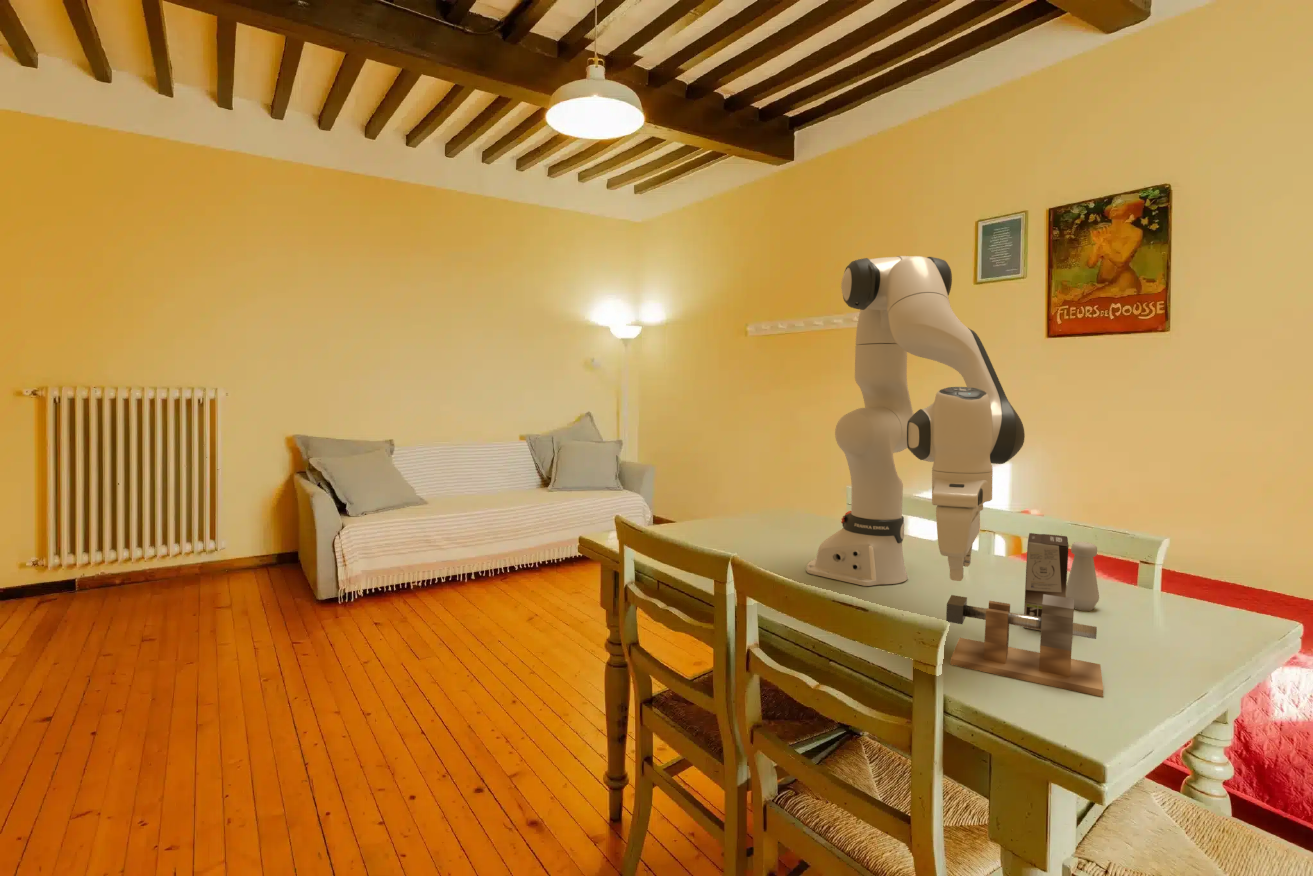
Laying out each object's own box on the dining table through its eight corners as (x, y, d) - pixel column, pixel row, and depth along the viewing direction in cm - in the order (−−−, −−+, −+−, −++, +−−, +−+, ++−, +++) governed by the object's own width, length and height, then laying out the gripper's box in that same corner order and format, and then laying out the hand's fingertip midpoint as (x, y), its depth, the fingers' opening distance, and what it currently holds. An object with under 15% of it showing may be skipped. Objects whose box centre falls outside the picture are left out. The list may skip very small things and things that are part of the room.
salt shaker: (1104, 613, 126) (1108, 547, 124) (1071, 611, 127) (1074, 546, 126) (1090, 603, 131) (1094, 540, 130) (1059, 601, 132) (1062, 538, 131)
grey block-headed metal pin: (946, 621, 105) (946, 603, 105) (950, 612, 110) (951, 594, 109) (1096, 648, 95) (1097, 628, 94) (1095, 637, 99) (1096, 617, 99)
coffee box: (1064, 635, 115) (1069, 546, 113) (1022, 628, 118) (1026, 541, 117) (1064, 619, 123) (1068, 535, 121) (1024, 613, 126) (1029, 531, 125)
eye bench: (950, 664, 103) (953, 594, 102) (959, 643, 112) (961, 578, 111) (1103, 696, 93) (1107, 619, 92) (1100, 670, 101) (1104, 599, 100)
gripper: (949, 479, 115) (949, 555, 116) (929, 495, 98) (929, 585, 99) (989, 480, 112) (988, 560, 113) (976, 498, 95) (975, 591, 96)
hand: (960, 572), depth 106 cm, fingers open, 8 cm apart
